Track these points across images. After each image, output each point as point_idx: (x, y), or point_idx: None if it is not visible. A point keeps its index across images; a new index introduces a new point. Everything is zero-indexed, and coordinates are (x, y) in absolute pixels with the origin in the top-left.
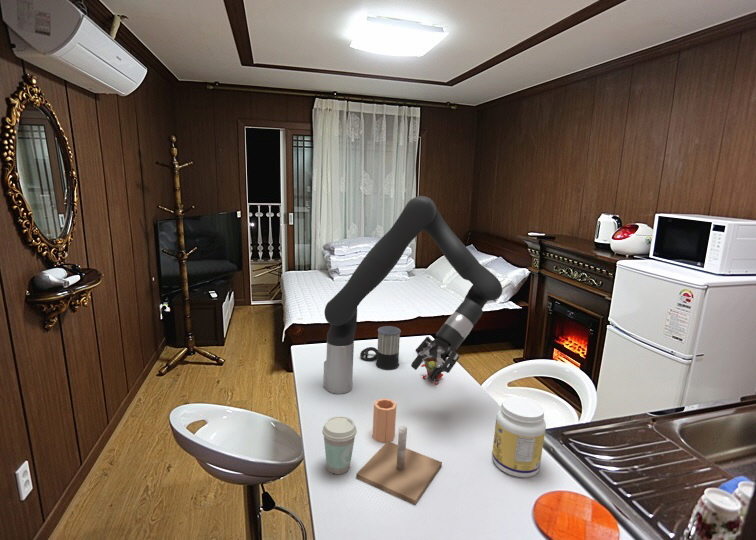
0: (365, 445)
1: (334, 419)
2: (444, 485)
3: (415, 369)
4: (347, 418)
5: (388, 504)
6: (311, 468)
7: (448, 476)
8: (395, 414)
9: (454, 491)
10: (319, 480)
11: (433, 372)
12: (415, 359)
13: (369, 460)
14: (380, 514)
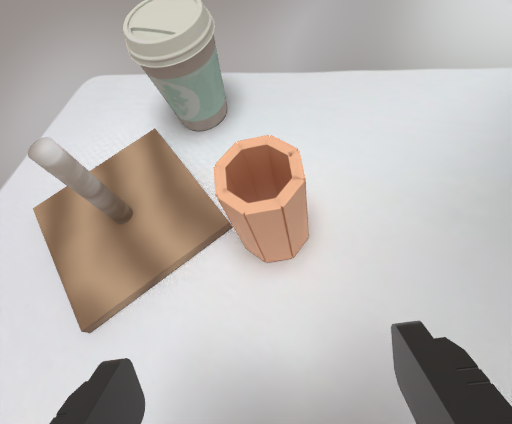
0: None
1: (193, 9)
2: (39, 300)
3: (396, 372)
4: (178, 31)
5: None
6: None
7: (53, 329)
8: (243, 226)
9: (12, 313)
10: None
11: (67, 419)
12: (460, 380)
13: (178, 160)
14: None
